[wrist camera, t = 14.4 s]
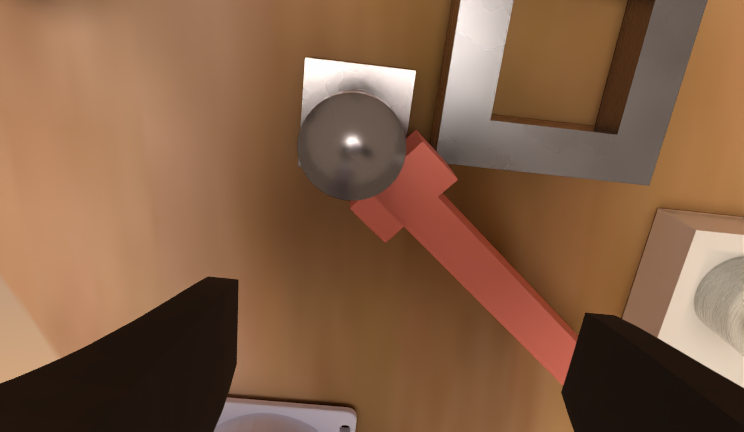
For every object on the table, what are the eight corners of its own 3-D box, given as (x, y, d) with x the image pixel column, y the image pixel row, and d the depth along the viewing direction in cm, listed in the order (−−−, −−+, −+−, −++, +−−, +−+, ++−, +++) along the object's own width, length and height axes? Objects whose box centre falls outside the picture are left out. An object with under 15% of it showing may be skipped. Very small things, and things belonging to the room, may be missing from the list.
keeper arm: (351, 189, 17) (349, 208, 15) (416, 129, 16) (422, 141, 14) (566, 402, 20) (587, 439, 18) (627, 359, 20) (656, 393, 18)
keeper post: (400, 173, 20) (413, 223, 14) (299, 162, 20) (275, 209, 14) (414, 69, 18) (434, 82, 13) (307, 57, 18) (282, 65, 13)
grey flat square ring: (624, 173, 20) (649, 185, 18) (428, 151, 19) (434, 162, 18) (690, -49, 17) (725, -58, 16) (464, -80, 17) (475, -92, 15)
